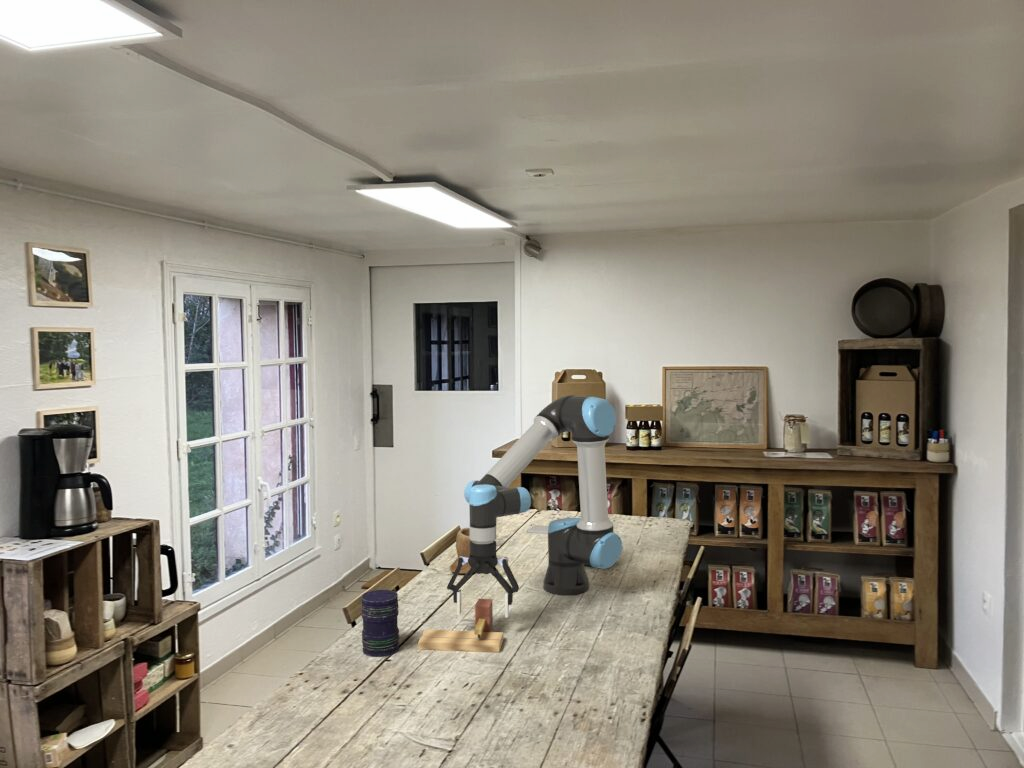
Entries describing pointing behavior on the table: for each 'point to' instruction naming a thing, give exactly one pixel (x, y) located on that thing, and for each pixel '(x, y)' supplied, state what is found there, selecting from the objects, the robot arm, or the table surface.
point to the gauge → (483, 616)
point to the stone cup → (462, 550)
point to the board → (460, 641)
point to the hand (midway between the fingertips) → (482, 614)
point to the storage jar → (380, 623)
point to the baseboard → (538, 529)
